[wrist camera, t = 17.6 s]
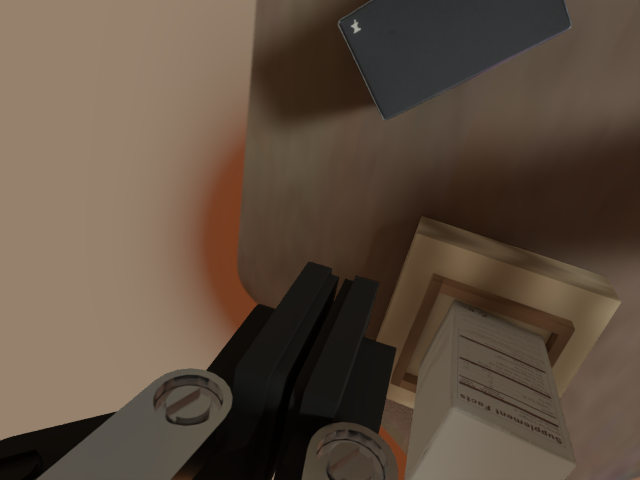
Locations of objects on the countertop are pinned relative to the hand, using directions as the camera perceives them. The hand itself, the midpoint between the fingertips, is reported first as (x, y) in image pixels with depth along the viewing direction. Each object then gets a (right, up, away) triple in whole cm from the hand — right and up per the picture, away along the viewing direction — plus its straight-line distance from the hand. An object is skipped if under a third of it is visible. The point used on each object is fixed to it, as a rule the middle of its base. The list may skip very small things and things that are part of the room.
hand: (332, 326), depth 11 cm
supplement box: (+13, -7, +27) cm, 31 cm away
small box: (+9, +17, +23) cm, 30 cm away
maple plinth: (+13, -5, +31) cm, 34 cm away
